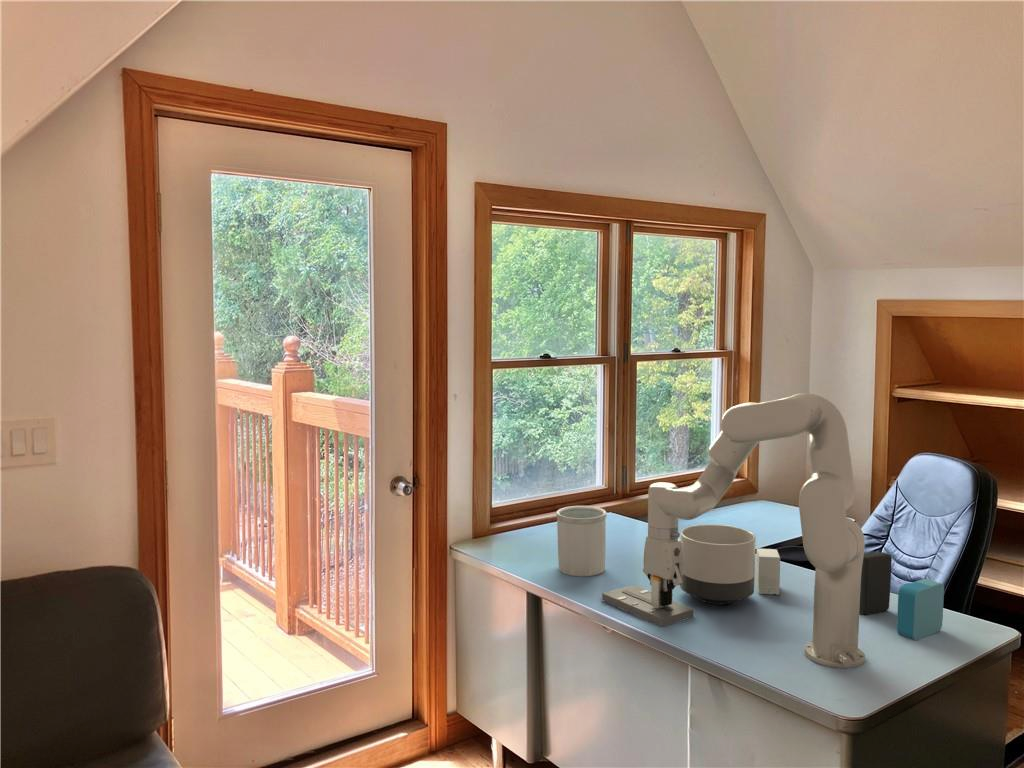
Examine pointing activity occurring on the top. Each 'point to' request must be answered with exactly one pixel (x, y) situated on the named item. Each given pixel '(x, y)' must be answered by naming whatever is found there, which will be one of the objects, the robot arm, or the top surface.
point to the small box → (767, 571)
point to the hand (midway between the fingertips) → (661, 602)
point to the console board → (646, 605)
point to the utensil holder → (581, 540)
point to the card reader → (875, 583)
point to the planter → (718, 563)
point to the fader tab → (656, 591)
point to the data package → (920, 609)
